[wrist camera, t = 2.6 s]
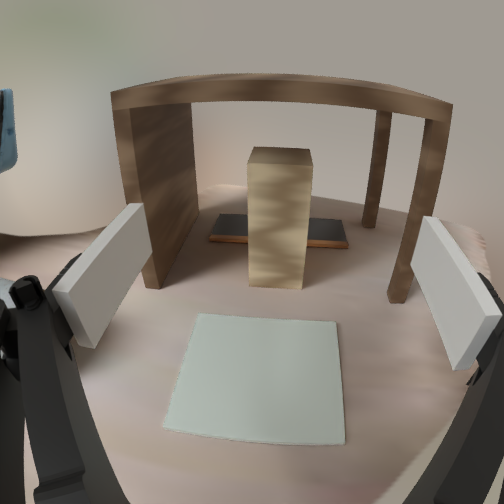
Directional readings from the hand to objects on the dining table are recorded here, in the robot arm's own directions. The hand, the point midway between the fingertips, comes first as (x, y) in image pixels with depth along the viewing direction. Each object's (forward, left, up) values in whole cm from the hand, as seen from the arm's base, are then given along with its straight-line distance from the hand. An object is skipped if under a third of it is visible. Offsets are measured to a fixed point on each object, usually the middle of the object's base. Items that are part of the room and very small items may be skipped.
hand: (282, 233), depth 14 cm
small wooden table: (0, +17, -12) cm, 21 cm away
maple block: (0, +13, -12) cm, 18 cm away
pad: (-1, +1, -12) cm, 12 cm away
